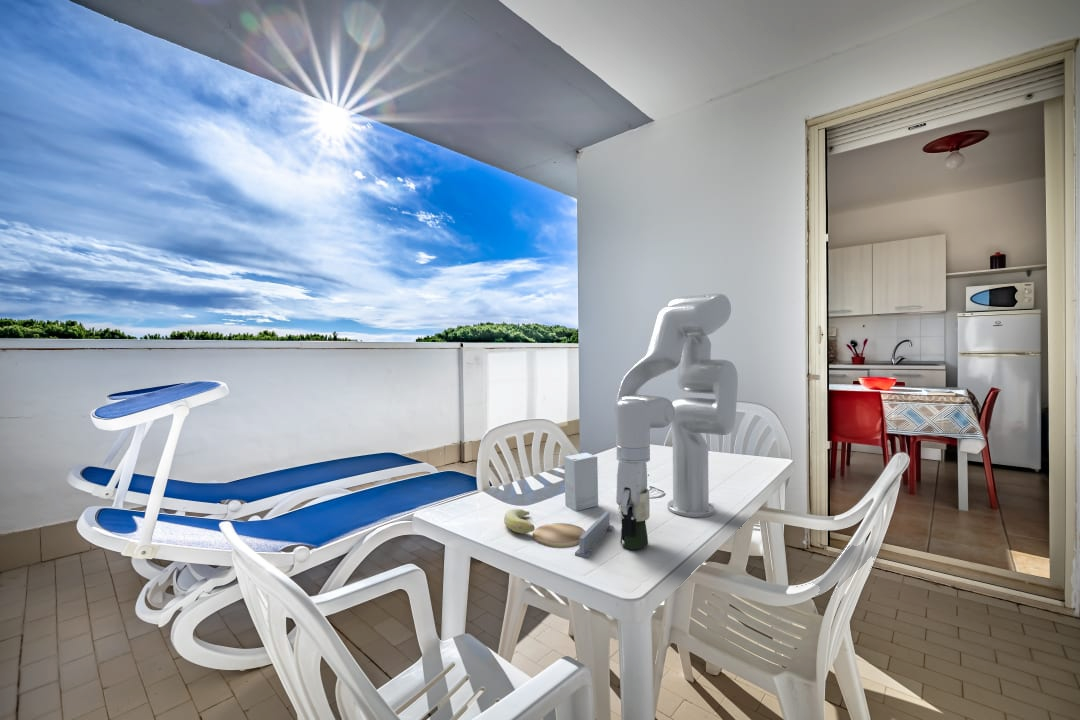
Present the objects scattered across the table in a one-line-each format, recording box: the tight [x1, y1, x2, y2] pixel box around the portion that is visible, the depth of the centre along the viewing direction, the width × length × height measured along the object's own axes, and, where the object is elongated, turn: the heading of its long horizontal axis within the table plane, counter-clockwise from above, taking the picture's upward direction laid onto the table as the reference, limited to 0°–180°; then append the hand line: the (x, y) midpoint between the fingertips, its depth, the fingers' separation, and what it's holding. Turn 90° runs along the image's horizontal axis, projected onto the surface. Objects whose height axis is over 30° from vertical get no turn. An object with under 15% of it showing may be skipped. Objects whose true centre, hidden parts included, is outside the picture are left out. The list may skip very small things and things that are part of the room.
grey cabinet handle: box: [574, 511, 615, 559], centre depth 107 cm, size 18×3×4 cm, turn 153°
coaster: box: [532, 522, 586, 548], centre depth 110 cm, size 13×13×1 cm
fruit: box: [503, 508, 536, 535], centre depth 116 cm, size 7×15×3 cm, turn 7°
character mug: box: [617, 487, 651, 550], centre depth 104 cm, size 11×7×13 cm, turn 24°
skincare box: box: [563, 452, 599, 512], centre depth 131 cm, size 8×6×15 cm
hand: (633, 529), depth 104 cm, fingers closed on character mug, 7 cm apart
